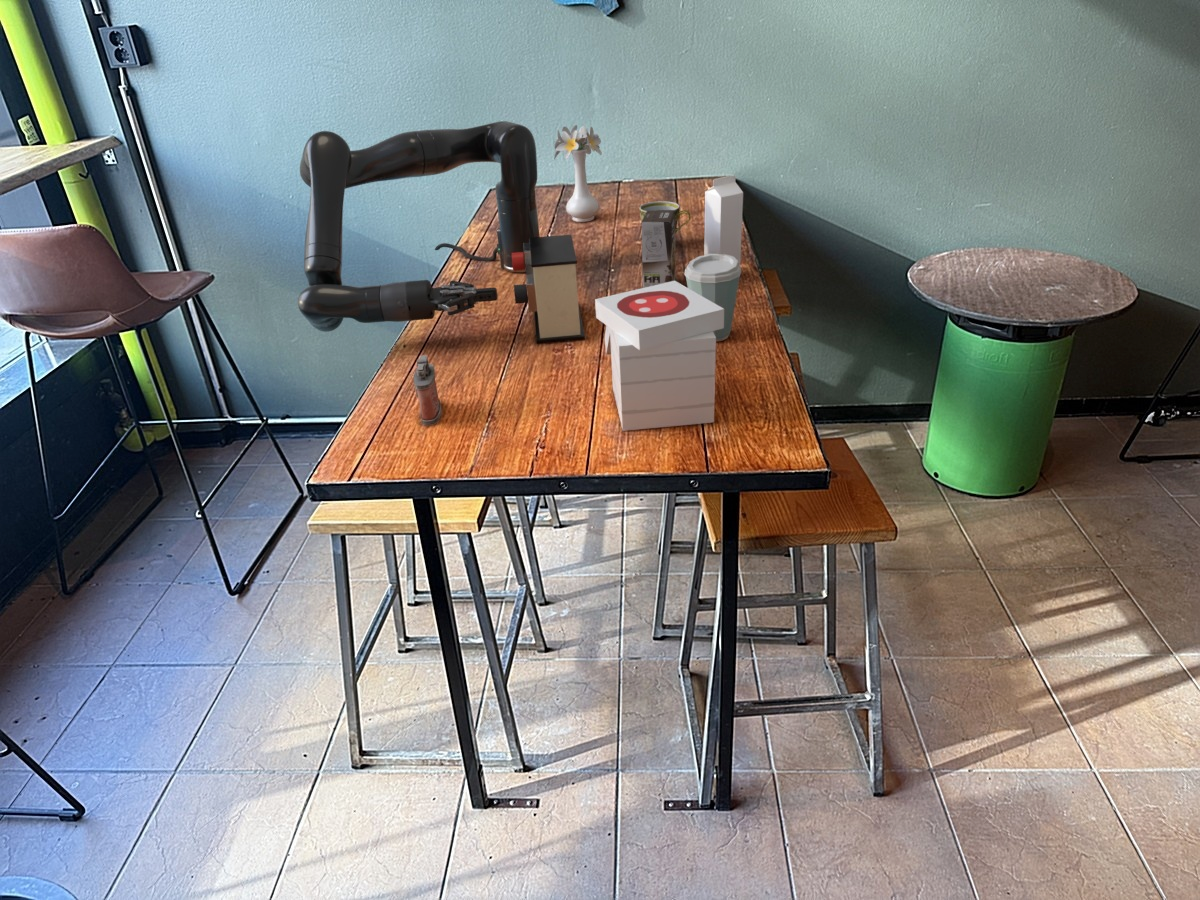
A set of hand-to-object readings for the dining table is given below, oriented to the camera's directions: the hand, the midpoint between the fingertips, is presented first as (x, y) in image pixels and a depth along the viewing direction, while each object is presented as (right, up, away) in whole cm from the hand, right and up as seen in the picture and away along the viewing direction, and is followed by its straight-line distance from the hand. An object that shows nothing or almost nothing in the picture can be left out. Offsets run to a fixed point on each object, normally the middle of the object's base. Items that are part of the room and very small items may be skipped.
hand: (496, 293), depth 161 cm
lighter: (-9, -24, -20) cm, 33 cm away
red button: (+4, +6, +7) cm, 10 cm away
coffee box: (+34, +6, +25) cm, 42 cm away
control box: (+12, -5, +9) cm, 16 cm away
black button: (+5, -1, +1) cm, 5 cm away
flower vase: (+15, +35, +73) cm, 82 cm away
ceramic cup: (+37, +21, +48) cm, 64 cm away
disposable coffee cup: (+42, -8, +1) cm, 43 cm away
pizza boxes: (+30, -20, -17) cm, 40 cm away
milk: (+48, +10, +29) cm, 57 cm away
